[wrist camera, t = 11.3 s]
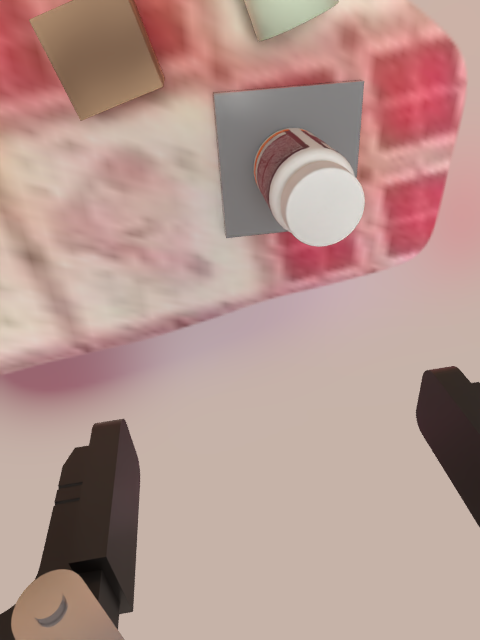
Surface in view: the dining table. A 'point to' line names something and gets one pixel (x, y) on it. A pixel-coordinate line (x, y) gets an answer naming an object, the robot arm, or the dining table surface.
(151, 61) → the walnut cube
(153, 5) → the dining table surface
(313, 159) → the pill bottle
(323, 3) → the green tub
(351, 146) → the plate
